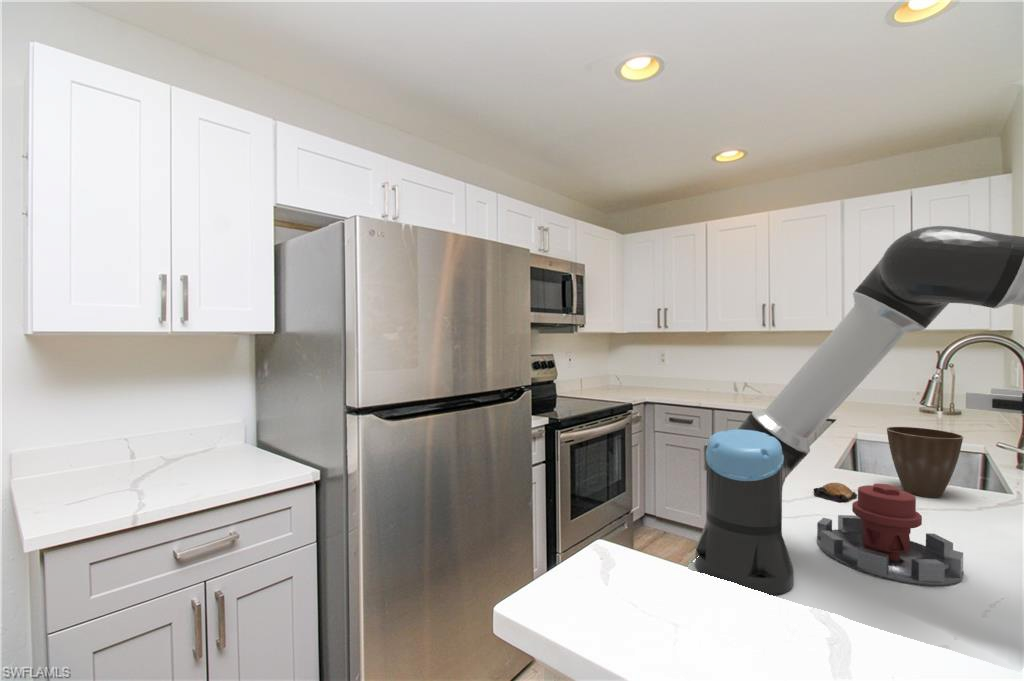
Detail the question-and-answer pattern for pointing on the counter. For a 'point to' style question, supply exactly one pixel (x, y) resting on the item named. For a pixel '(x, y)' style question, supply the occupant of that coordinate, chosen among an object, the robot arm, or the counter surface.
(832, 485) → the bread roll
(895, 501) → the mechanical component
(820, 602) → the counter surface
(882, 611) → the counter surface
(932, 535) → the castellated collar
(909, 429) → the plant pot
